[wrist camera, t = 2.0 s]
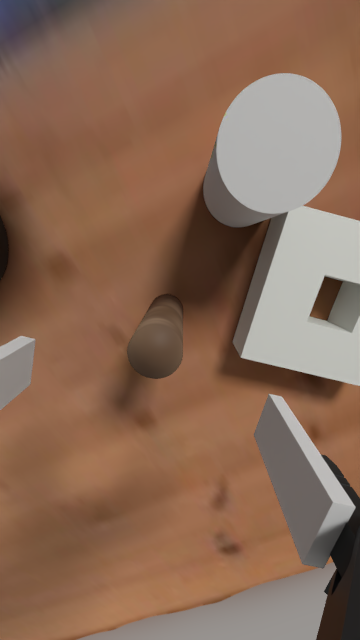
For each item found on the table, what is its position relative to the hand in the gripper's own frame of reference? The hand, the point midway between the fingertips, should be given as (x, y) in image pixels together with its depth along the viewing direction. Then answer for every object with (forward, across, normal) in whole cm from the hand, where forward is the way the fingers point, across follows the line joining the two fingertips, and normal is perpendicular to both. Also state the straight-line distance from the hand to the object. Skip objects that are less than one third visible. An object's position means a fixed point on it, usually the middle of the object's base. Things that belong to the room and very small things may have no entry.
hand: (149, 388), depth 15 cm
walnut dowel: (+19, 0, 0) cm, 19 cm away
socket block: (+19, +17, +6) cm, 26 cm away
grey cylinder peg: (+19, +4, +16) cm, 25 cm away
